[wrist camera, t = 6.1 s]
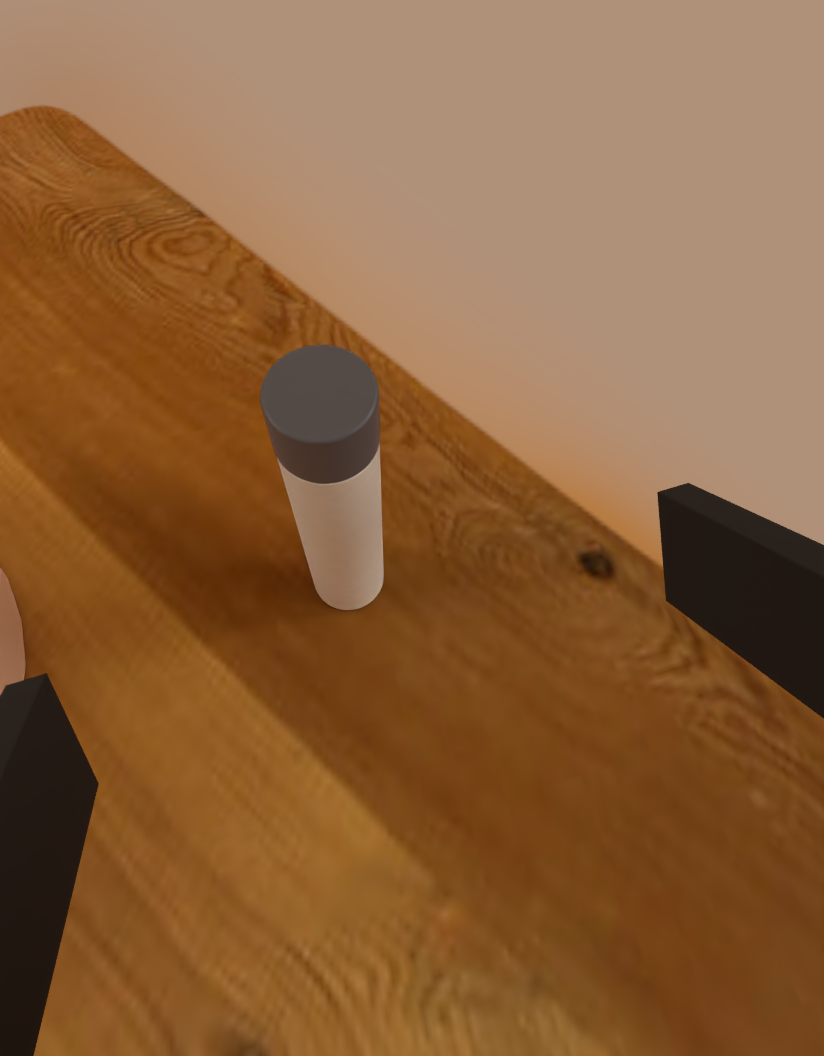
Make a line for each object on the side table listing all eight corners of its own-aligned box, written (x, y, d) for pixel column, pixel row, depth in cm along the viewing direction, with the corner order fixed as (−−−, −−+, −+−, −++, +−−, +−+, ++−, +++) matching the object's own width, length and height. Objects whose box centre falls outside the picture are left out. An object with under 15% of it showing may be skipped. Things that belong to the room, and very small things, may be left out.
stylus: (391, 552, 28) (390, 354, 17) (375, 617, 26) (363, 453, 15) (323, 538, 28) (278, 333, 17) (304, 602, 27) (244, 429, 16)
